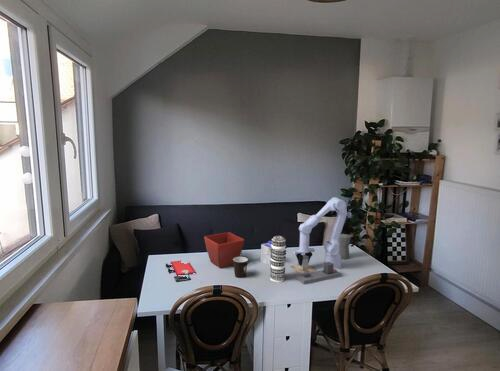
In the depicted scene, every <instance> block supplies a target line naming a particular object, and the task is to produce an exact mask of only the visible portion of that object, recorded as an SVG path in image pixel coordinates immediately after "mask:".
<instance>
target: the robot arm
mask: <svg viewBox="0 0 500 371" xmlns="http://www.w3.org/2000/svg"><path fill="white" fill-rule="evenodd" d="M330 211H332V212H333V211H335V212H336V218H335V221H334V224H333V227H332V230H331V234H330V236H329V237H328V238H327V240H326V242H325V243H324V244H323V249H324V250H325V252H324V254H325V255H324V263H325V262H331V263H332V264H334V266H333V269H335V270H338V269H339V270H340V269H342V266H341V265H342V263H341V262H342V259H341V256H340V254H339V238H340V234H342V232H343V227H344V225H345V222H346V218H347V215H348V211H347V203H346V202H345V200H343V199H340V198H339V197H336V196H334V197H331V199H329V200H328V201H327V202H326V204H325V205H324V206H322V208H321V209H320V210H319V211H318V212H317V213H316V214H312V215H310V216H309V217H308V219H307V220H305V221H304V222H302V223H301V224H300V225H299V227H298V231H299V247H298V248H299V249H295V250H294V251H292V254H293V255H294V256H295V257H296V259H297V262H298V265H300V266H301V265H302V258H303V256H302V255H303V254H305V255H307V256H308V257H309V258H308V264H310V261H311V258H312V256H313V253H315V248H314V247H312V248H311V247H310V234H311V232H312V229H313V228H315V227H316V226H317V225H318V224H319V223H320V220H321V219H322V218H323V217H324V216H326V214H328V213H329V212H330ZM321 267H322V268H323V267H324V264H322V265H321Z"/></svg>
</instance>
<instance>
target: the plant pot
mask: <svg viewBox="0 0 500 371" xmlns="http://www.w3.org/2000/svg"><path fill="white" fill-rule="evenodd" d="M204 243H205V248H206V252H207V254H208V258H209V261H210V262H211V263H212V264H213V265H215V266H216V267H218V268H219V269H222V268H226V267H231V266H234V263H233V259H234V258H236V257H241V254H242V251H243V248H244V243H245V239H244V238H243V237H240V236H237V235H235V234H234V233H232V232H221V233H216V234H211V235H206V236H205V235H204Z"/></svg>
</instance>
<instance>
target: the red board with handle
mask: <svg viewBox="0 0 500 371" xmlns="http://www.w3.org/2000/svg"><path fill="white" fill-rule="evenodd" d="M181 261H182V260H176V261H173V260H172V261H170V262H171V263H170V264H168V262H167V263H166V262H165V268H166V267H168V268H167V273H168V272H170V273H173V272H172V271H175V272H174V273H176V274H175V276H173V278H174V279H175V281H176V282H179V281H184V280H185V281H187V280H192V278H191V277H190V275H188V274H191V275H194V274H193V273H196V274H197V271H196V270H195V269H194V267H193V266H192V264H191V263H190V262H189V263H187V264H184V263H181ZM171 264H172V265H171ZM169 266H172V267H173V268H172V267H169ZM171 268H172V269H171ZM173 269H174V270H173ZM176 275H177V276H176ZM178 275H188V278H187V277H186V276H185V277H183V276H178Z"/></svg>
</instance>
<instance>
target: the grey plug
mask: <svg viewBox="0 0 500 371" xmlns="http://www.w3.org/2000/svg"><path fill="white" fill-rule="evenodd" d="M302 256H303V258H302V265H301V266H300V265H299V264H298V265H299V268H300V269H302V270H305V269H308V265H309V263H308V258H309V257H308V256H307V255H305V253H303V254H302Z"/></svg>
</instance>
